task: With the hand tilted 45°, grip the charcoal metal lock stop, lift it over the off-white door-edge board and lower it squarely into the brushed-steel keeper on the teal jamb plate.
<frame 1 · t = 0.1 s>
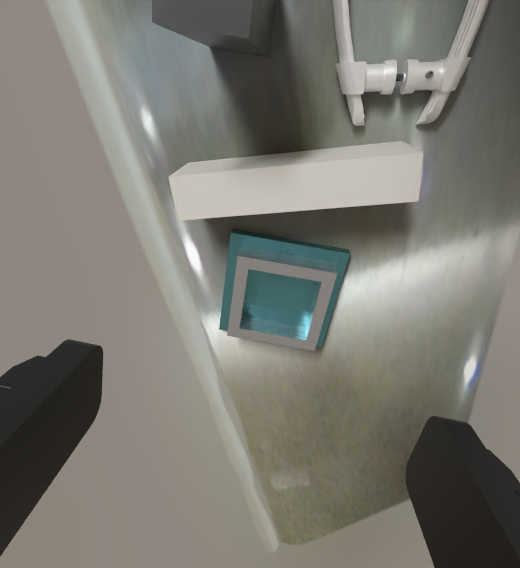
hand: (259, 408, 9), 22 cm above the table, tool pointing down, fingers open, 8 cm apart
lock stop: (242, 15, 23), on the table
keeper: (279, 289, 33), on the table
door edge: (292, 172, 28), on the table
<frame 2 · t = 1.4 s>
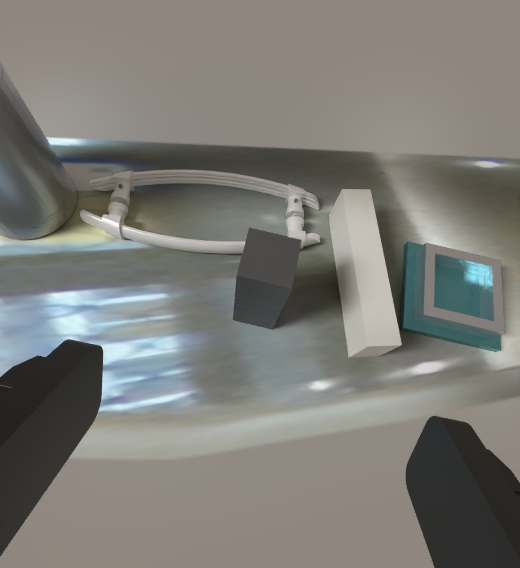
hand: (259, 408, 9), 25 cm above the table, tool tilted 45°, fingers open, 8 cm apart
door handle: (207, 218, 40), on the table
lock stop: (257, 306, 36), on the table
keeper: (447, 295, 39), on the table
door edge: (351, 281, 38), on the table
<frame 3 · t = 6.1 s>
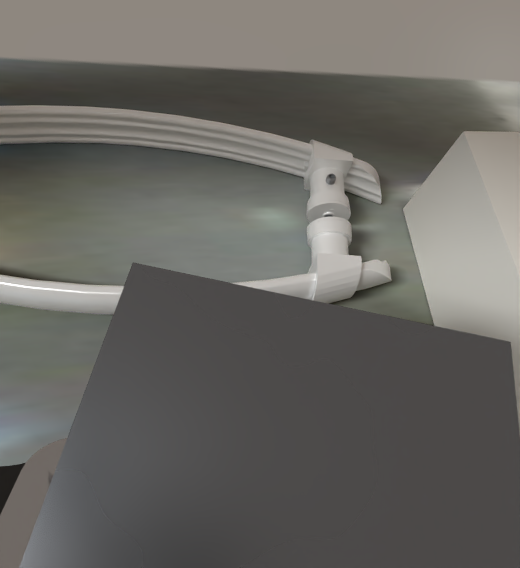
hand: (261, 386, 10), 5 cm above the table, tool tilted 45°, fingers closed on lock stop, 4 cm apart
door handle: (119, 222, 17), on the table
lock stop: (240, 457, 13), on the table, touching gripper
door edge: (480, 369, 15), on the table
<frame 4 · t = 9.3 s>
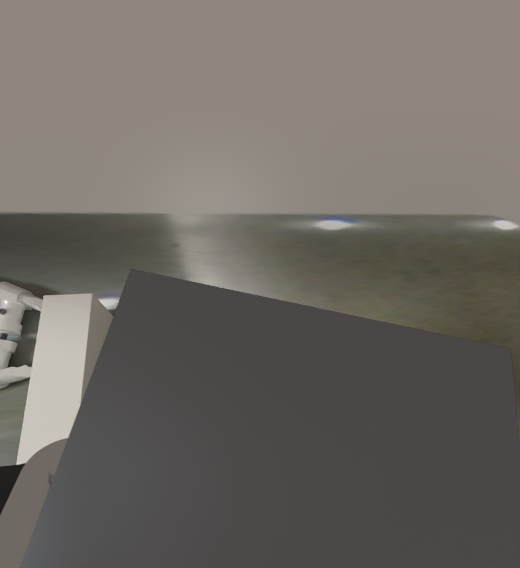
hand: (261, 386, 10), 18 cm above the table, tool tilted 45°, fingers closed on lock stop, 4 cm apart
lock stop: (240, 459, 13), point 13 cm above the table, touching gripper
door edge: (82, 428, 25), on the table
when the fingers open (6 cm above the table, at t = 12.4 s): lock stop drops 1 cm, resting on keeper.
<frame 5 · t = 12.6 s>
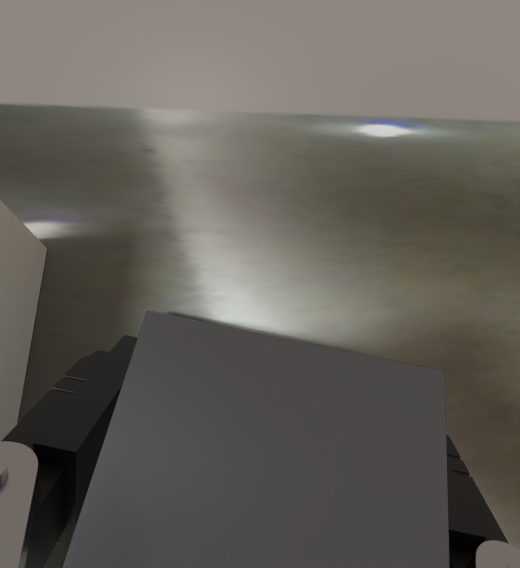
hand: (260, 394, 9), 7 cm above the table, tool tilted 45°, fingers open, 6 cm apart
lock stop: (238, 459, 14), point 1 cm above the table, touching keeper
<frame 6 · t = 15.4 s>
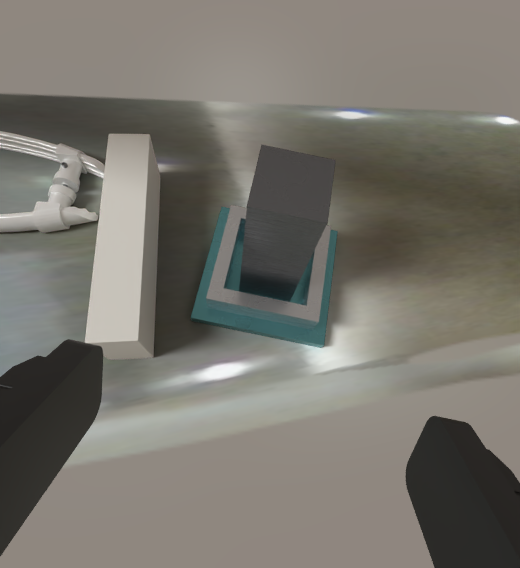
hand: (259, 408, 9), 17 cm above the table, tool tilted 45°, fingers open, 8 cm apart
lock stop: (269, 272, 28), point 1 cm above the table, touching keeper
keeper: (268, 275, 29), on the table
door edge: (138, 258, 29), on the table
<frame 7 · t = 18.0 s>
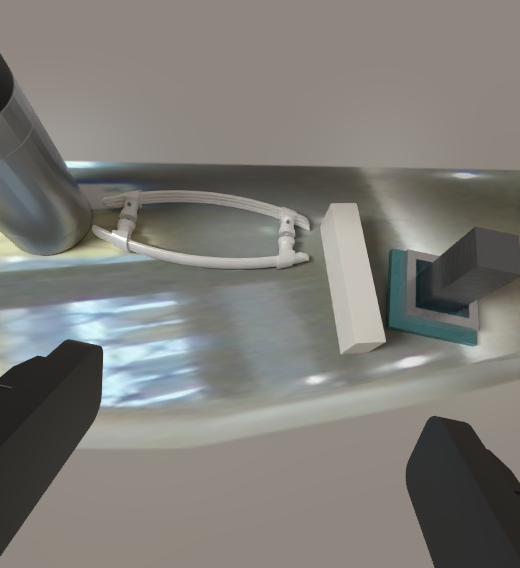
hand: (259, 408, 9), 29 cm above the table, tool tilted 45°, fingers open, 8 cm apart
door handle: (206, 235, 44), on the table
lock stop: (432, 295, 42), point 1 cm above the table, touching keeper
keeper: (429, 296, 43), on the table
door edge: (342, 285, 42), on the table
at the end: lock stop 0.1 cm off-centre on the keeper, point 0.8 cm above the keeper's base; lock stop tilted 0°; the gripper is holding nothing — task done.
